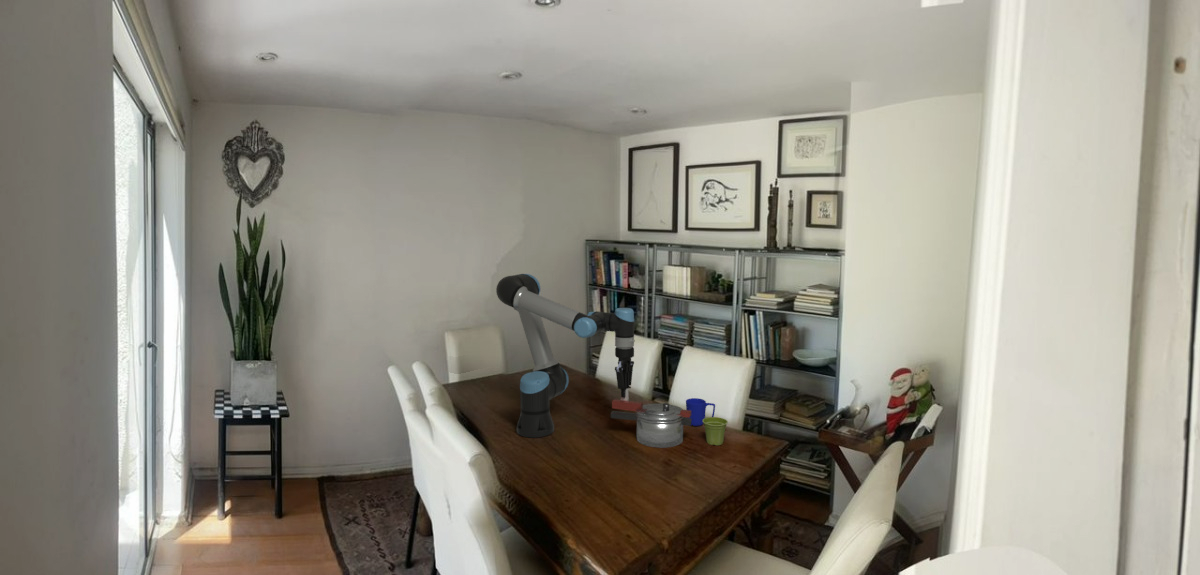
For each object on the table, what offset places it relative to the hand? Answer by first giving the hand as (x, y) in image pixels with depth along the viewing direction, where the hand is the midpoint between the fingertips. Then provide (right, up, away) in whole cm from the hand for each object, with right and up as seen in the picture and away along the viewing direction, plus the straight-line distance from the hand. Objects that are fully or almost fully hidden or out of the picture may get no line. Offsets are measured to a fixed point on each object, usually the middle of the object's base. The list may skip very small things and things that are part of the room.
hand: (624, 404), depth 232 cm
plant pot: (+34, -13, -11) cm, 38 cm away
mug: (+32, -11, +9) cm, 35 cm away
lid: (+10, -2, -6) cm, 12 cm away
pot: (+10, -12, -6) cm, 17 cm away
